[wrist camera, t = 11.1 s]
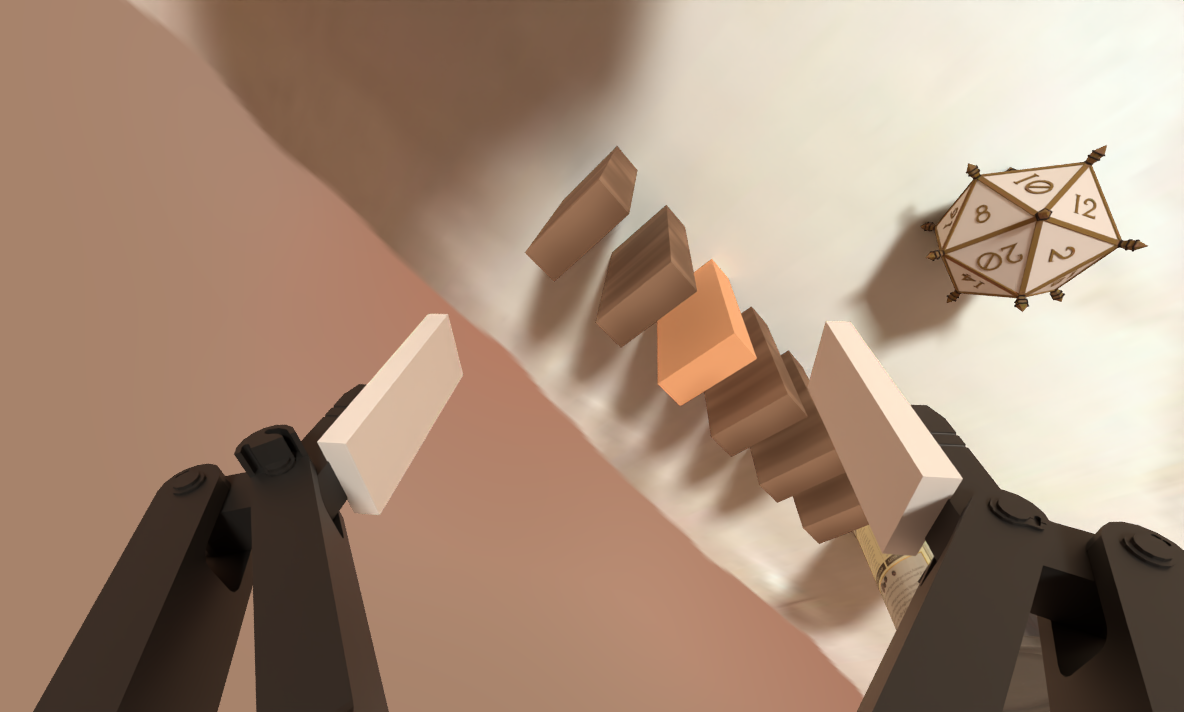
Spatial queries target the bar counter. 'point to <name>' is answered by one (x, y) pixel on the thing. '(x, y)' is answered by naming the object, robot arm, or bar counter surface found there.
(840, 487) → the domino
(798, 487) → the domino
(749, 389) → the domino
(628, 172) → the domino
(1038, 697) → the coffee can
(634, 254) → the domino
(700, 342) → the domino
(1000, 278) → the game die
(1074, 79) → the bar counter surface
